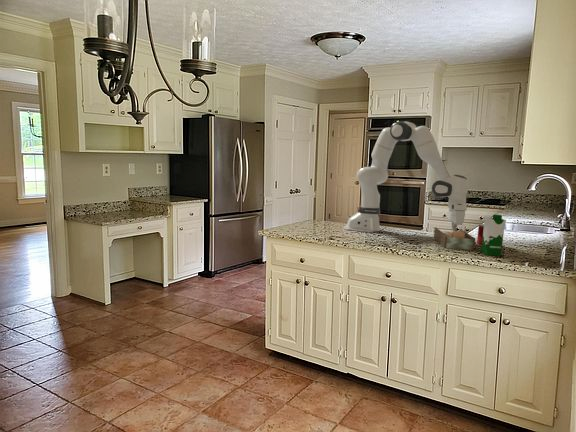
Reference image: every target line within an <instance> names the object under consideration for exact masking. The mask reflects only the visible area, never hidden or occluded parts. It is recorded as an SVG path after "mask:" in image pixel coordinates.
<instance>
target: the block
mask: <svg viewBox="0 0 576 432" xmlns="http://www.w3.org/2000/svg"><path fill="white" fill-rule="evenodd" d="M451 232H452V238H464V236H465V233H464V232H460V231H459V230H458V231H457V230H456V231H454V230H452V231H451Z"/></svg>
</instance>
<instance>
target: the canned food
mask: <svg viewBox="0 0 576 432" xmlns="http://www.w3.org/2000/svg"><path fill="white" fill-rule="evenodd" d="M483 229H484V223H479V224H478V228H477V236H476V237H477V238H476V243H477V244H476V245H479V246H482V238H483Z"/></svg>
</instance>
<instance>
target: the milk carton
mask: <svg viewBox="0 0 576 432" xmlns="http://www.w3.org/2000/svg"><path fill="white" fill-rule="evenodd" d="M506 223H507V219H504V218H503V215H501V214H493V215H492V217H489V216H488V217H487V216H485V217H483V224H484V229H483V238H482V245H480V247H481V248H480V252H481V253H482V254H484V255H486V256H491V257H492V256H495V257H496V256H498V257H500V256H502V252H503V251H502V250H503V243H504V234H505V227H506Z"/></svg>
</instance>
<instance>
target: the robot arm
mask: <svg viewBox="0 0 576 432" xmlns="http://www.w3.org/2000/svg"><path fill="white" fill-rule="evenodd" d="M379 133H380V134H379V135H378V138H377V139H376V142H375V144H374V146H373V149H372V152H371V157H370V158H371V159H372V160H371V165H370V166H364V167H362V168H359V169H358V171H357V172H356V180H357V182H358V183H359V185H360V190H361V205H358V206H357V207H356V209H357V212H356V213H355V214H353V215H351V216H350V217H349V218H348V220H347V224H345V225H344V226H343V229H344V230H346V231H347V230H348V231H353V232H363V233H373V232H374V233H375V232H379V231H381V227H380V226H381V225H380V214H381V208H380V203H381V194H380V192H379V190H378V185H382V184H384V183H385V182H387V180H388V179H389V172H388V167H389V161H390V159H391V157H392V154H393V151H394V150H395V146H396V144H397V143H398V142H400V141H401V142H411V141H412V143H413V146H414V149H415V151H416V154H417V155H418V157H419V158H420V160H421V161H423V162H425V163H427V164H428V165H429V166H431V167H432V169H433V171H434V174H435V175H436V178H437V180H436V181H435V182H433V183H432V185H431V192H432V194H433V195H434V196H435V197H437V198H448V202H447V208H448V211H447V219H448V220H449V221H450V222H451V230H452V231H457V228H458V225H459V226H462V225H463V224H464V221H465V216H466V212H467V211H468V210H467V209H468V208H467V205H466V204H467V198H466V197H467V194H468V186H469V181H468V178H467V177H465V176H464V175H461V174H453V175H451V176H450V174H449V172H448V170H447V168H446V165H445V163H444V161H443V159H442V156H441V153H440V151H439V147H438V145H437V142H436V140H435V138H434V136H433V133H432V132H431V130H430V128H428V127H427V126H426V125H420V126H419V125H417V124H416V123H414V122H410V121H399V120H398V121H396V122H394V123H392V125H390V127H385V128H383V129H382V130H381V132H379Z"/></svg>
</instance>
